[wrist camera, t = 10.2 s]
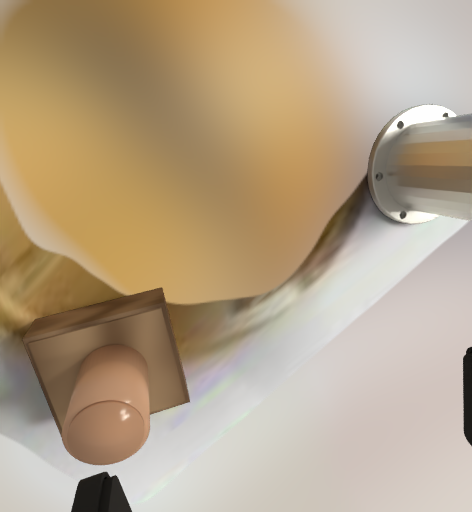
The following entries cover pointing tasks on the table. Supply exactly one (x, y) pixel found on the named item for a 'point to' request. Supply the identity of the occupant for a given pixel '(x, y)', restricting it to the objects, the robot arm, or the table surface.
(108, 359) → the canister
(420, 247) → the table surface
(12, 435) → the table surface
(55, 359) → the walnut block
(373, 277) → the table surface
